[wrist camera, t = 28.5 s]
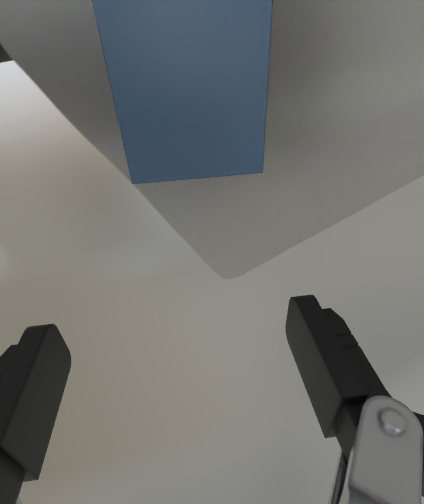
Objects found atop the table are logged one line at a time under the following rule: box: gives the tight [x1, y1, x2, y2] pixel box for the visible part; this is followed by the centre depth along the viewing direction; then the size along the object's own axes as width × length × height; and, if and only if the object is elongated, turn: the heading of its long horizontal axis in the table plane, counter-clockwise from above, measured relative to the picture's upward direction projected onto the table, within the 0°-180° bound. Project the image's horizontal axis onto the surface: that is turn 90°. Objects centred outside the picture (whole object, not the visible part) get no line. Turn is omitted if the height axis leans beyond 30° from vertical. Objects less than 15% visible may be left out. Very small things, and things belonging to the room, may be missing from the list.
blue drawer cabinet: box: [92, 0, 273, 184], centre depth 28 cm, size 15×13×10 cm
